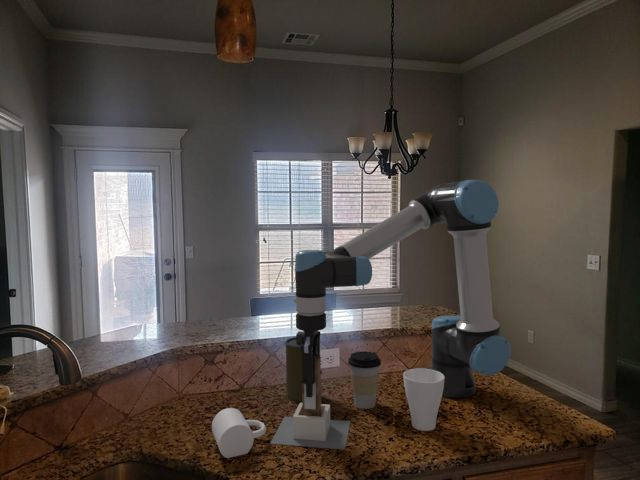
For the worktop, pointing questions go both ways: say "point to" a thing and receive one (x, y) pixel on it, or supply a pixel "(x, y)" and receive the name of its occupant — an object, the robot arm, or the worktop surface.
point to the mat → (333, 440)
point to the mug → (235, 432)
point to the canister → (294, 367)
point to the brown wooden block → (318, 391)
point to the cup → (423, 396)
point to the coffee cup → (364, 378)
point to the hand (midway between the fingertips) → (312, 404)
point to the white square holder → (311, 424)
